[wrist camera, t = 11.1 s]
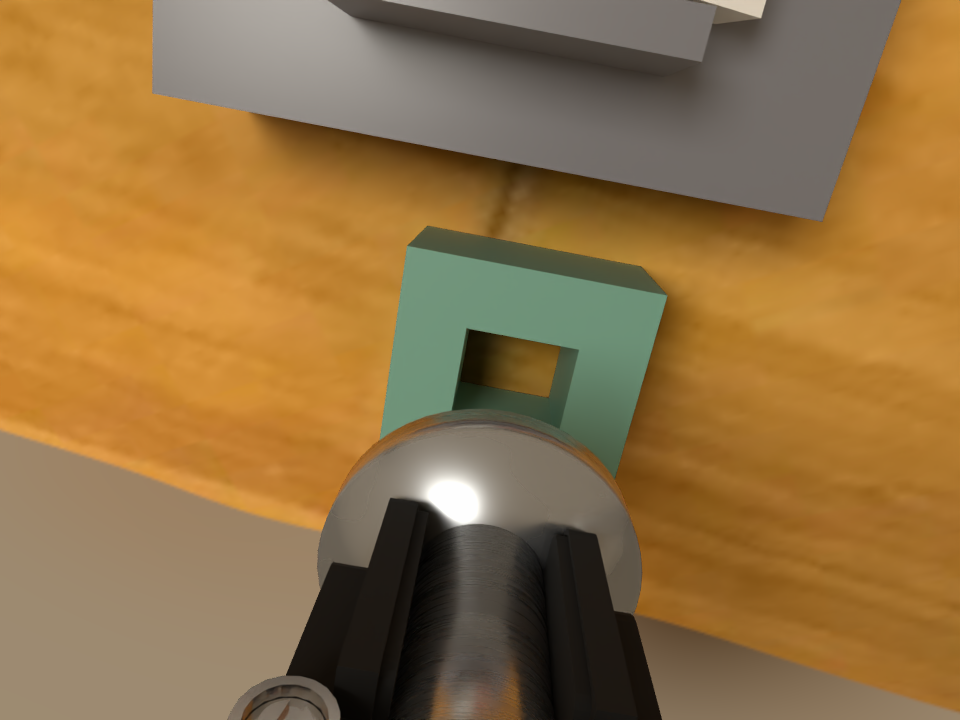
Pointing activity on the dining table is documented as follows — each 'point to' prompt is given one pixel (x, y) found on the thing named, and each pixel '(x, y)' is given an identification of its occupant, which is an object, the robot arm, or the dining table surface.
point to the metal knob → (482, 553)
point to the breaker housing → (555, 83)
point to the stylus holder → (523, 333)
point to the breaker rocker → (735, 9)
